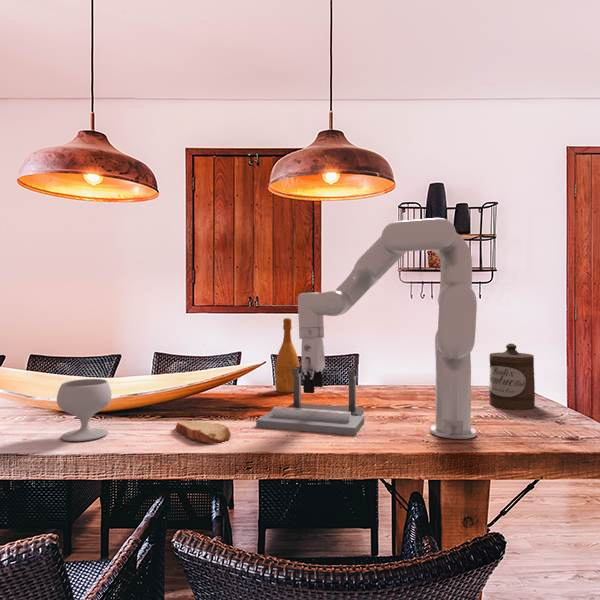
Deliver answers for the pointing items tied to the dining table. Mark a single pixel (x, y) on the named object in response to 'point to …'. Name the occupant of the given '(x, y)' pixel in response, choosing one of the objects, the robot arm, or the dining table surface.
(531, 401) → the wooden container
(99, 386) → the chalice
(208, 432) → the bread slice
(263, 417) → the board
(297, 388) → the rack
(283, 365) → the wine bottle
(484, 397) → the dining table surface
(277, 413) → the rail
